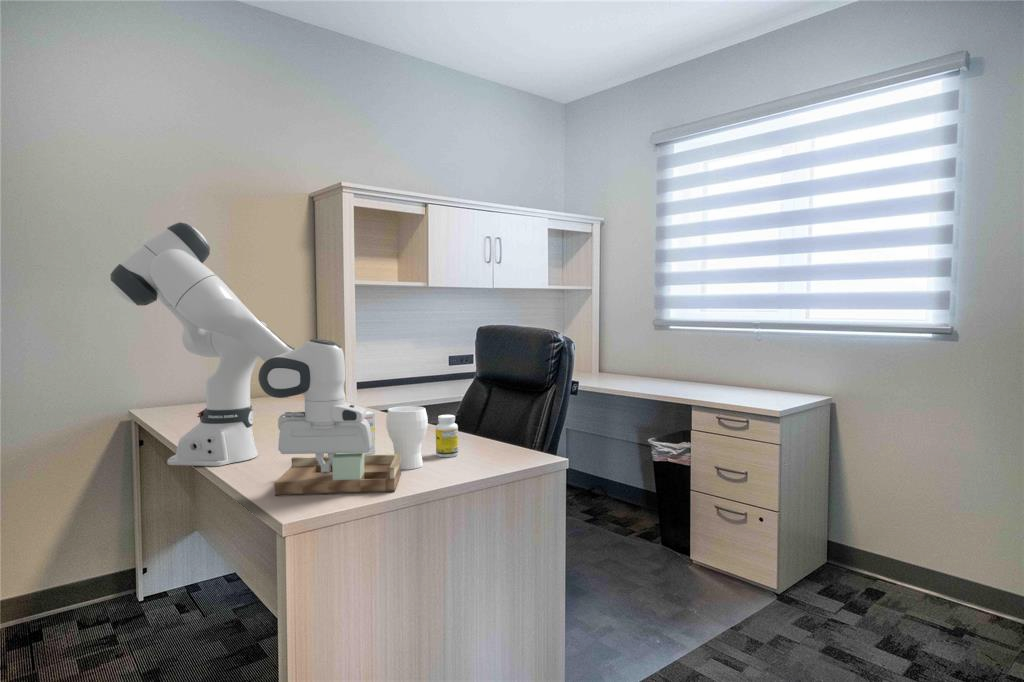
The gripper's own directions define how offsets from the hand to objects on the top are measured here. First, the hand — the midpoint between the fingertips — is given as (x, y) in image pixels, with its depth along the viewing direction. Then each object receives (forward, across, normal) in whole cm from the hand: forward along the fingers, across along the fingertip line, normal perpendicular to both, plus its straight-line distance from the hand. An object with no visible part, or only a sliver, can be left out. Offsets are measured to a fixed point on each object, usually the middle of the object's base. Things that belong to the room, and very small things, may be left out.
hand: (326, 472), depth 139 cm
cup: (+4, +16, +20) cm, 26 cm away
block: (+1, +5, 0) cm, 5 cm away
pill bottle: (+4, +26, +31) cm, 41 cm away
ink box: (+4, +1, +35) cm, 35 cm away
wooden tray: (+4, +3, +4) cm, 6 cm away
